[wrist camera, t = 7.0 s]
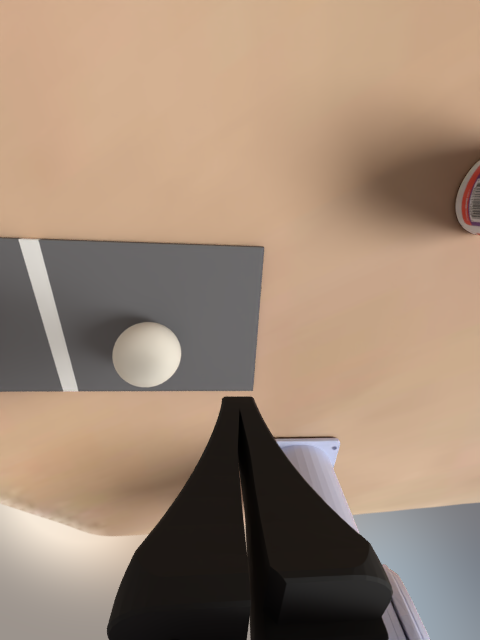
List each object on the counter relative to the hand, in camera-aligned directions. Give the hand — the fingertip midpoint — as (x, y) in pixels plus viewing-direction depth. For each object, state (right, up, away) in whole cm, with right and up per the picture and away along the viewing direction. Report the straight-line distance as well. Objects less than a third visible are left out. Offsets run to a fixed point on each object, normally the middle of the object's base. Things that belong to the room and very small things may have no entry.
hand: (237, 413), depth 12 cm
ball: (-5, +3, +7) cm, 10 cm away
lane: (-11, +4, +8) cm, 14 cm away
